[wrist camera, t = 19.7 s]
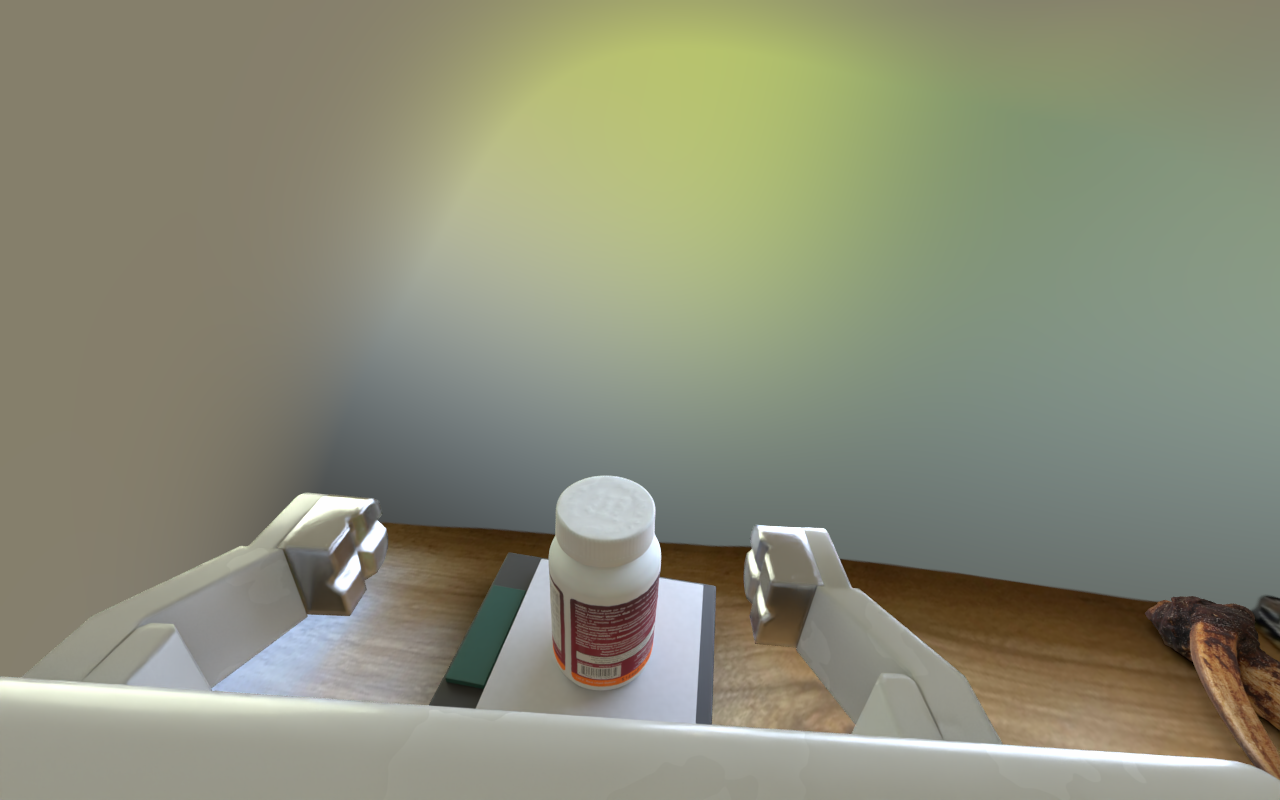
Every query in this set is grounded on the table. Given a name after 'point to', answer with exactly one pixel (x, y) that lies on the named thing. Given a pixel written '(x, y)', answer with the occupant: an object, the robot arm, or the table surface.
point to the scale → (533, 682)
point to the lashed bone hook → (1228, 668)
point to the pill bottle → (604, 581)
